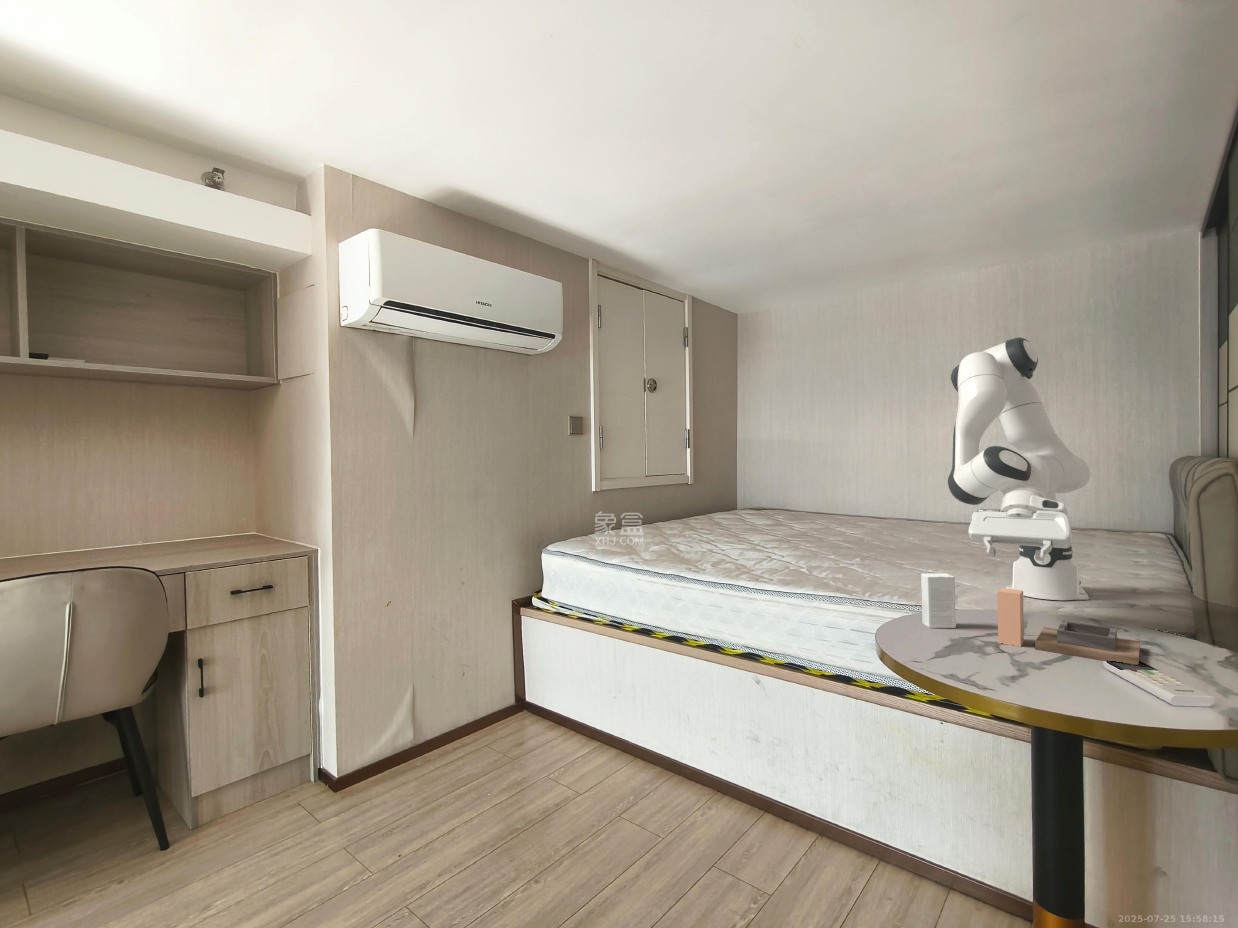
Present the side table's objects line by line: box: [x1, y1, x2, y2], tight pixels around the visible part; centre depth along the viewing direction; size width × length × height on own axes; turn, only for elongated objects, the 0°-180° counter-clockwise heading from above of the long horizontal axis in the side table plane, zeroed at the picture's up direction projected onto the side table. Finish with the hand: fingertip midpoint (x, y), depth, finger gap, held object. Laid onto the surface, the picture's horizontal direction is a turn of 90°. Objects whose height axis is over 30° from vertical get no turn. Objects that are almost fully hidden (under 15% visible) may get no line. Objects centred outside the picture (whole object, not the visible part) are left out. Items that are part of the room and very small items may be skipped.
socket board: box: [1034, 620, 1141, 666], centre depth 122 cm, size 13×16×4 cm
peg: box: [997, 587, 1025, 648], centre depth 127 cm, size 4×4×11 cm
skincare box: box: [920, 572, 957, 629], centre depth 140 cm, size 6×4×12 cm
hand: (1014, 557), depth 137 cm, fingers open, 8 cm apart
